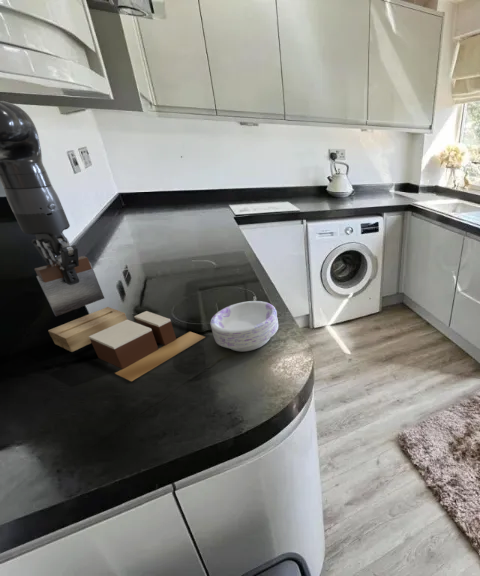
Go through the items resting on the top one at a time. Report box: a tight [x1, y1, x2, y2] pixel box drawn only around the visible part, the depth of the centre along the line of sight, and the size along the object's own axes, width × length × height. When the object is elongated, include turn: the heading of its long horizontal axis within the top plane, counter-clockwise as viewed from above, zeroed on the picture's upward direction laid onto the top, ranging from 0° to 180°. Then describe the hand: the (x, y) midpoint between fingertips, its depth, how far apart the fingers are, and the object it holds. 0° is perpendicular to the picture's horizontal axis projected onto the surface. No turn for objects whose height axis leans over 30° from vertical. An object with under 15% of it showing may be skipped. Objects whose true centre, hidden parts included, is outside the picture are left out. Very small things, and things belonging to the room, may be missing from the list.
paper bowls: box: [209, 300, 279, 352], centre depth 81 cm, size 15×15×8 cm
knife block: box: [47, 306, 128, 353], centre depth 82 cm, size 13×7×5 cm, turn 156°
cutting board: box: [114, 331, 206, 382], centre depth 79 cm, size 20×18×1 cm
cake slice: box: [133, 310, 177, 346], centre depth 80 cm, size 9×3×6 cm, turn 66°
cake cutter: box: [34, 255, 105, 317], centre depth 76 cm, size 10×2×12 cm, turn 156°
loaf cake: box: [89, 319, 159, 370], centre depth 74 cm, size 9×8×6 cm
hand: (70, 282), depth 76 cm, fingers closed on cake cutter, 2 cm apart
